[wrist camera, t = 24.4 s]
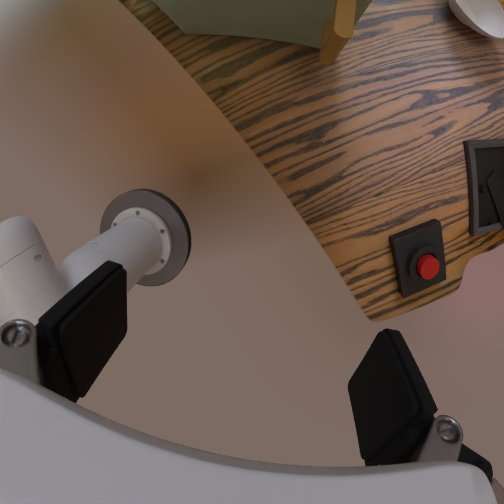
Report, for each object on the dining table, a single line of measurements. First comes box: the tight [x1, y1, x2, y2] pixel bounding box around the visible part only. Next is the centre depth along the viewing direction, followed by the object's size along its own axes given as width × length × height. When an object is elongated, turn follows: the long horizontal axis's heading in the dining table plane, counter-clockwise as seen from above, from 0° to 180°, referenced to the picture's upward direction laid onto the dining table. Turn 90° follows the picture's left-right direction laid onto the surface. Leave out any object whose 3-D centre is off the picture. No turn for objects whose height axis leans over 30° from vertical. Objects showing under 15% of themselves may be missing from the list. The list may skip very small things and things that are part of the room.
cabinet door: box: [152, 0, 372, 65], centre depth 23 cm, size 7×24×26 cm, turn 80°
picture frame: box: [463, 139, 504, 236], centre depth 37 cm, size 13×2×18 cm
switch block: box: [389, 219, 446, 298], centre depth 43 cm, size 12×10×4 cm
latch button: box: [417, 254, 440, 280], centre depth 41 cm, size 4×4×2 cm
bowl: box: [448, 0, 504, 39], centre depth 22 cm, size 16×16×7 cm
